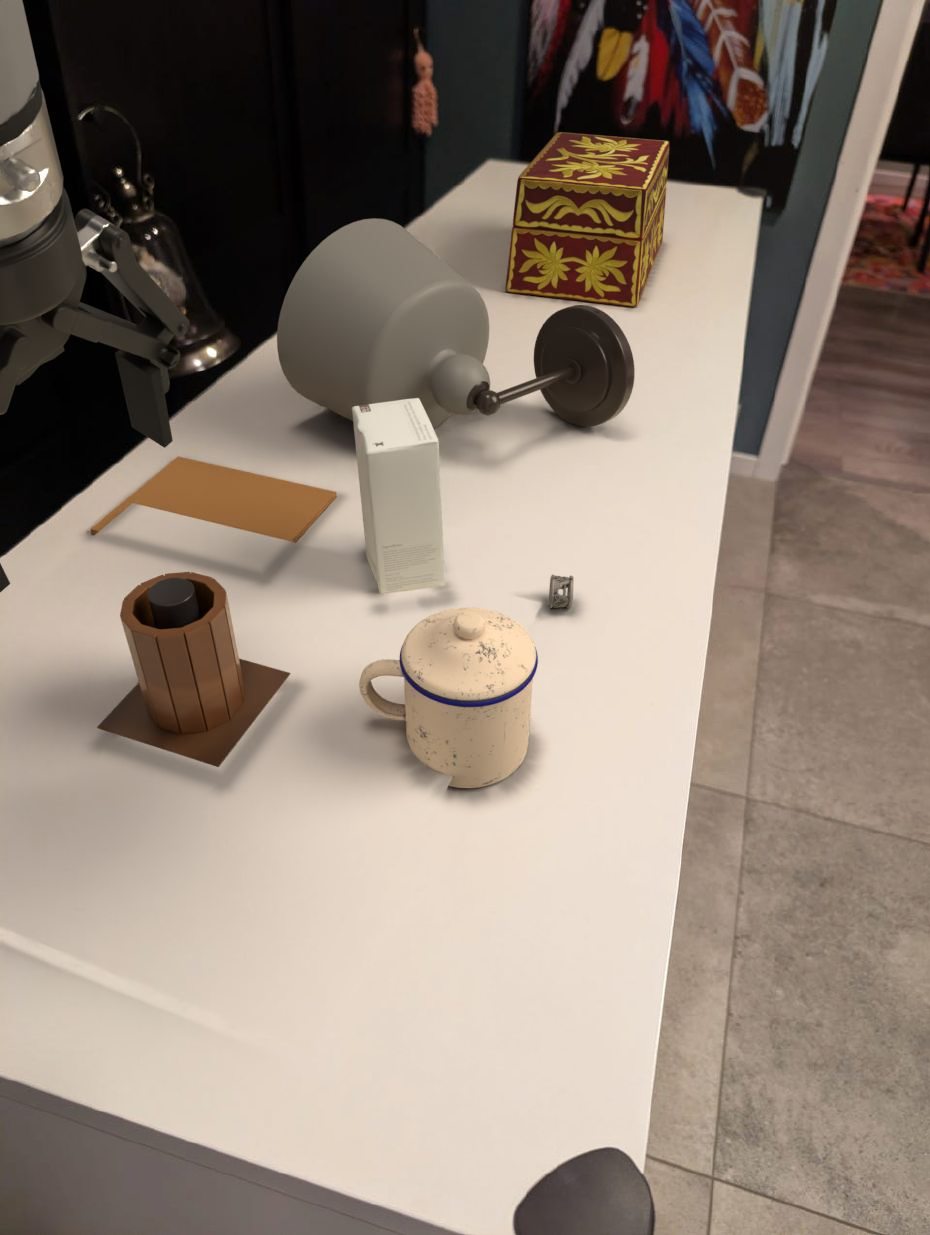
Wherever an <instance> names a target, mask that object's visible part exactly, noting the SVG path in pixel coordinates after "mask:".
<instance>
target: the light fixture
mask: <svg viewBox="0 0 930 1235" xmlns="http://www.w3.org/2000/svg"><path fill="white" fill-rule="evenodd" d="M276 331H277V334H276V347H277V356H278V361H279V364H280V367H281V371H282V373H283V375H284V377H285V378H286V379H285V380H286V381H287V382H288V384H289V386H290V387H291V388H292V389H293V390H294V391H295V392H296V393H297V394H299V395H300V396H301V397H303V398H305V399H306V400H308V401H310V402H312V403H315V404H317V405H319V406H320V407H323V408H325V409H327V410H329V411H331V412H333V413H335V414H336V415H339V416H341V417H343V418H345V419H347V420H349V421H351V422H353V413H352V407H354V406H361V405H367V404H375V403H382V402H389V401H397V400H404V399H413V398H419V399H420V401H421V403H422V405H423V407H424V409H425V411H426V414H427V416H428V418H429V420H430V422H431V424H432V427H433V429H434V430H435V429H436V428H437V427H439V426H440V425H442V423H444V422H446V421H447V419H448V418H450V417H451V416H452V415H455V416H466V415H469V414H472V413H474V412H476V411H478V412H479V413H480V414H481V415H483V416H487V417H489V416H493V415H495V414H497V413H498V411H499V410H500V408H501V406H502V405H504V404H507V403H509V402H513V401H515V400H516V399H520V398H522V397H524V396H527V395H530V394H532V393H536V392H538V391H540V393H541V395H542V396H543V398H544V400H545V402H546V403H547V404H548V406H549V407H550V409H552V410H553V412H554V413H555V414H557V415H558V416H559V417H560V418H561V419H562V420H564V421H566V422H568V423H570V424H572V425H575V426H577V427H584V428H585V427H586V428H590V427H598V426H600V425H602V424H605V423H607V422H609V421H611V420H613V419H614V418H616V417H617V416H618V415H619V414H620V413H622V411H623V410H624V409H625V407H626V406H627V404H628V403H629V400H630V398H631V396H632V393H633V389H634V384H635V375H636V374H635V372H636V371H635V370H636V368H635V360H634V355H633V352H632V351H633V350H632V349H631V345H630V343H629V340H628V338H627V336H626V334H625V332H624V331H623V330H622V328H621V327H620V325H619V324H618V323H617V322H616V320H614V319H613V317H611V316H610V315H609V314H608V313H606V312H605V311H603V310H602V309H599V308H597V307H595V306H592V305H588V304H587V305H586V304H575V305H569V306H568V307H564V308H562V309H560V310H556V311H555V312H553V313H552V314H551V315H550V316H549V317H548V318H546V320H545V321H544V322H543V323H542V325H541V327H540V328H539V330H538V333H537V336H536V339H535V342H534V347H533V369H534V375H535V377H534V378H533V379H530V380H528V381H525V382H521V383H519V384H516V385H513V386H511V387H509V388H506V389H503V390H500V391H498V392H496V391H494V390H491V378H490V374H489V372H488V369H487V368H486V366H485V365H484V362H485V359H486V356H487V352H488V347H489V340H490V318H489V312H488V307H487V306H486V303H485V301H484V299H483V297H482V295H481V294H480V292H478V290H477V289H476V288H475V287H474V286H473V285H472V284H471V283H469V282H468V281H467V280H466V279H465V278H464V277H462V276H461V275H460V274H459V273H458V272H457V271H455V270H454V269H453V268H452V267H450V266H449V265H448V264H447V263H446V262H445V261H443V260H442V259H441V258H440V257H439V256H438V255H436V254H435V253H434V252H433V251H432V250H430V248H428V247H427V245H425V244H424V243H422V242H421V241H420V240H419V239H417V238H416V237H415V236H414V235H413V234H412V233H410V231H408V230H407V229H405V227H403V226H402V225H400V224H398V223H396V222H394V221H393V220H389V219H385V218H375V217H374V218H365V219H364V218H363V219H360V220H357V221H354V222H351V223H348V224H346V225H344V226H342V227H340V228H338V229H337V230H336V231H334V232H332V233H330V235H328V236H327V237H326V238H325V239H323V240H322V241H321V242H320V243H319V244H318V245H317V246H316V247H315V248H314V249H313V250H312V251H311V252H310V254H309V255H308V256H307V257H306V258H305V260H304V261H303V262H302V264H301V265H300V267H299V269H298V270H297V271H296V272H295V275H294V277H293V278H292V281H291V283H290V285H289V287H288V289H287V291H286V293H285V296H284V299H283V303H282V305H281V308H280V313H279V316H278V322H277V330H276Z"/></svg>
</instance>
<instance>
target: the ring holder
mask: <svg viewBox="0 0 930 1235" xmlns="http://www.w3.org/2000/svg"><path fill="white" fill-rule="evenodd" d="M148 600H149V603H150V607H151V611H152V615H153V619H154V623H155V627H156V629H160V630H161V629H172V628H182V627H184V626H186V625H189V624H191V623H193V622H195V621H198V620H200V619H201V616H200V612H199V607H198V603H197V598H196V593H195V589H194V586H193V584H192V583H191V582H190V581H188V580H186V579H183V578H168V579H164V580H161V581H159V582H157V583H156V584H154V585H153V586H152V587H151V588H150V589H149V591H148ZM239 661H240V666H241V671H242V677H243V682H244V702H243V704H242V706H241V707H240V708H239V709H238V711H237V712H236V713H235V714H234V716H233V717H232V718H231V719H229V721H227V722H225V723H223V724H221V725H219V726H217V727H215V728H213V729H211V730H209V731H208V730H207V729H206V731H204V732H195V733H185V734H182V733H180V734H179V733H175V732H172V731H169V730H166V729H163V728H160V727H159V726H157V724H156V723H155V722H154V721H153V719H152V718H151V717H150V715H149V714H148V712H147V708H146V705H145V701H144V698H143V694H142V691H141V687H140V684H139V682H137V683H136V685H134V687H133V688H132V689H131V690H130V691H129V692H128V693H127V694H126V695H125V696H124V698H123V699H122V700H121V701H120V702H119V703H118V704H117V705H116V706H115V707H114V708H113V709H112V710H111V711H110V713H109V714H108V715H107V716H106V717H105V718H104V719H103V720H102V721H101V722H100V723H99V724H98V725H97V726H96V728H97V729H99V730H102V731H105V732H108V733H111V734H113V735H117V736H120V737H123V738H127V739H130V740H132V741H136V742H139V743H143V744H144V745H148V746H151V747H154V748H158V749H161V750H164V751H167V752H170V753H173V754H177V755H179V756H182V757H186V758H189V759H192V760H195V761H197V762H201V763H204V764H207V765H210V766H213V767H217V768H219V767H221V765H222V764H223V762H224V761H225V760H226V758H227V757H228V756H229V755H230V753H231V752H232V751H233V750H234V748H235V747H236V746H237V744H238V743H239V742H240V740H241V739H242V738H243V737H244V735H245V734H246V732H248V730H250V728H251V726H252V725H253V723H255V721H256V719H257V718H259V716H260V714H262V712H263V711H264V710H265V708H266V707H267V705H268V704H269V703H270V702H271V700H273V698H274V696H275V695H276V694H277V692H278V691H279V690H280V688H281V687H282V686H283V684H284V683H285V682H286V680H288V678H289V676H290V675H291V672H288V671H285V670H281V669H278V668H274V667H271V666H267V665H264V664H260V663H257V662H253V661H250V660H246V659H243V658H239Z"/></svg>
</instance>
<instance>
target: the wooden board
mask: <svg viewBox="0 0 930 1235" xmlns="http://www.w3.org/2000/svg"><path fill="white" fill-rule="evenodd" d="M336 498H337V492H336V491H333V490H329V489H324V488H320V487H316V486H311V485H308V484H303V483H300V482H299V483H298V482H294V481H289V480H286V479H280V478H276V477H273V476H268V475H262V474H259V473H253V472H250V471H245V470H240V469H236V468H231V467H227V466H222V465H219V464H213V463H209V462H204V461H200V460H197V459H192V458H187V457H183V456H176V457H175V458H174V459H173V460H172V461H170V462H169V463H168V464H167V465H166V466H164V467H163V468H162V469H160V470H159V471H158V472H157V473H156V474H154V476H152V477H151V478H150V479H149V480H147V481H146V482H145V483H144V484H143V485H142V486H140V487H139V488H138V489H137V490H136V491H134V492H133V493H132V494H131V495H129V496H128V497H127V498H125V500H123V501H122V502H121V503H120V504H118V505H117V506H116V507H115V508H114V509H112V510H111V511H110V512H109V513H108V514H106V515H105V516H104V517H103V518H101V519H100V520H98V522H97V523H95V524H94V525H92V527H90V529H89V530H90V533H91V535H94V536H95V535H97V534H98V533H99V532H100V531H102V530H103V529H104V528H105V527H106V526H108V525H109V524H110V523H111V522H112V521H113V520H115V519H116V518H117V517H118V516H120V515H121V514H122V513H123V512H125V510H127V509H128V508H129V507H130V506H132V505H133V504H135V505H138V506H139V505H140V506H143V507H147V508H151V509H154V510H158V511H159V510H160V511H163V512H168V513H171V514H176V515H179V516H184V517H189V518H192V519H197V520H201V521H204V522H208V523H213V524H217V525H221V526H225V527H228V528H234V529H236V530H237V529H238V530H241V531H245V532H250V533H254V534H259V535H262V536H266V537H270V538H274V539H278V540H283V541H286V542H291V543H296V542H297V541H298V540H299V539H300V538H301V537H302V536H303V535H304V534H305V532H307V530H308V529H309V528H310V527H311V526H312V525H313V524H314V523H315V522H316V520H317V519H318V518H319V517H320V516H321V515H322V514H323V513H324V511H325V510H326V509H327V508H328V507H329V506H330V504H331V503H332V502H334V501H335V499H336Z"/></svg>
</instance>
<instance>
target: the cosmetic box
mask: <svg viewBox="0 0 930 1235" xmlns="http://www.w3.org/2000/svg"><path fill="white" fill-rule="evenodd" d="M352 413H353V421H352V422H353V432H354V441H355V442H354V443H355V453H356V464H357V474H358V482H359V483H358V485H359V494H360V503H361V514H362V523H363V534H364V545H365V555H366V559H367V561H368V565H369V568H370V570H371V572H372V575H373V577H374V579H375V582H376V584H377V589H378V594H380V595H385V594H394V593H401V592H408V591H415V590H422V589H423V590H424V589H431V588H438V587H439V588H440V587H445V586H446V572H445V552H444V533H443V532H444V530H443V512H442V511H443V510H442V491H441V490H442V489H441V474H440V471H441V470H440V449H439V446H440V445H439V444H440V440H439V439H438V436H437V434H436V432H435V428H434V429H433V427H432V424H431V422H430V420H429V418H428V416H427V414H426V411H425V409H424V407H423V405H422V403H421V401H420V399H419V398H413V399H404V400H397V401H389V402H382V403H375V404H367V405H361V406H354V407H352Z"/></svg>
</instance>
